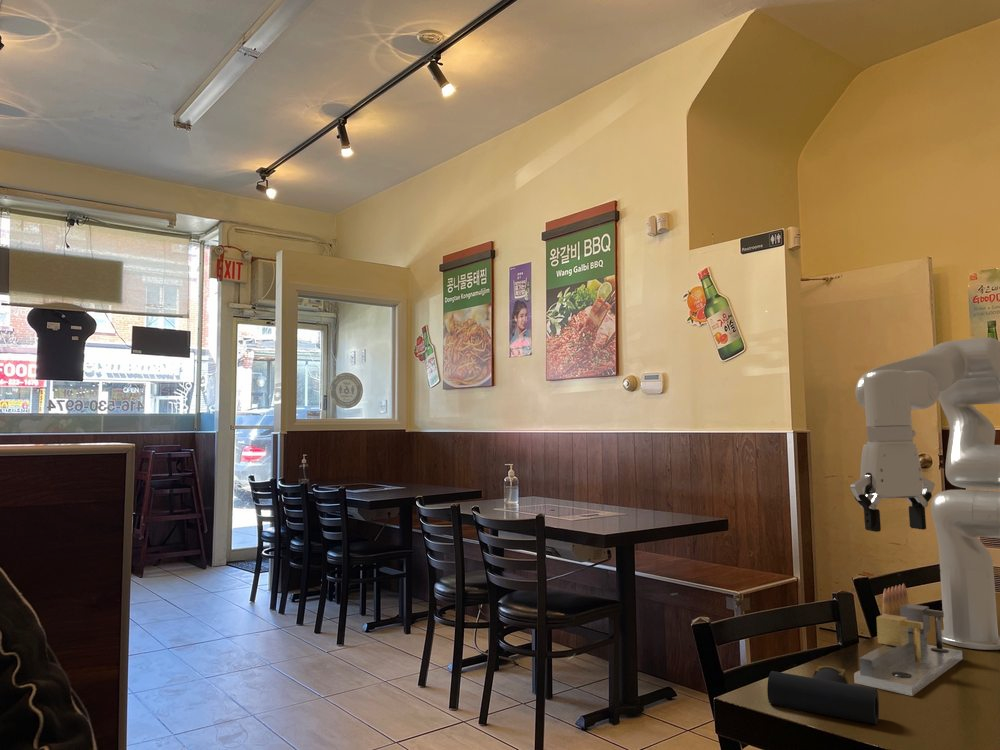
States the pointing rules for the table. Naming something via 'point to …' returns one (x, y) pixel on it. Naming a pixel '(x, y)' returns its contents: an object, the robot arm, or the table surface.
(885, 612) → the ammunition clip
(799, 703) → the pipe connector
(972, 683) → the table surface
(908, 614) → the fixed leg
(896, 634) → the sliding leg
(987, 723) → the table surface
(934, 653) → the bolt plate
